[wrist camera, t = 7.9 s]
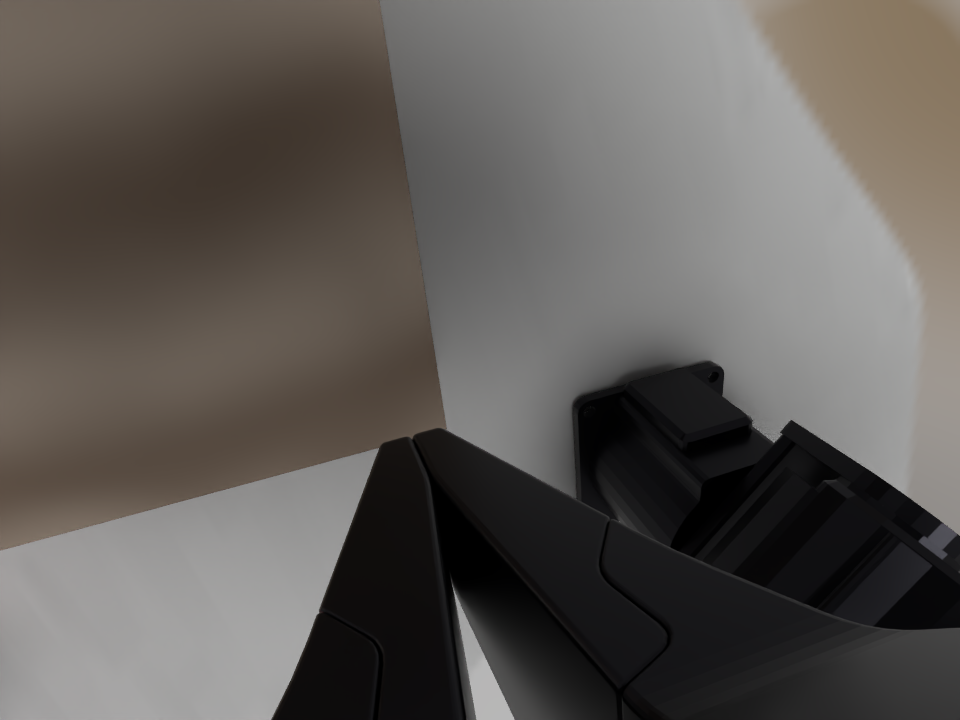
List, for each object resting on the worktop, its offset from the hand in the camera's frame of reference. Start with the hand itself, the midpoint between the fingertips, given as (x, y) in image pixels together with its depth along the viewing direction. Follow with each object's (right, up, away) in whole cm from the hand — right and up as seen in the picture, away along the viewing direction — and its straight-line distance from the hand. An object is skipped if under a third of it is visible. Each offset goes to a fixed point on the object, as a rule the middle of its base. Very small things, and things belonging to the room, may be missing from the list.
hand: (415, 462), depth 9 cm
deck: (-8, +7, +9) cm, 13 cm away
